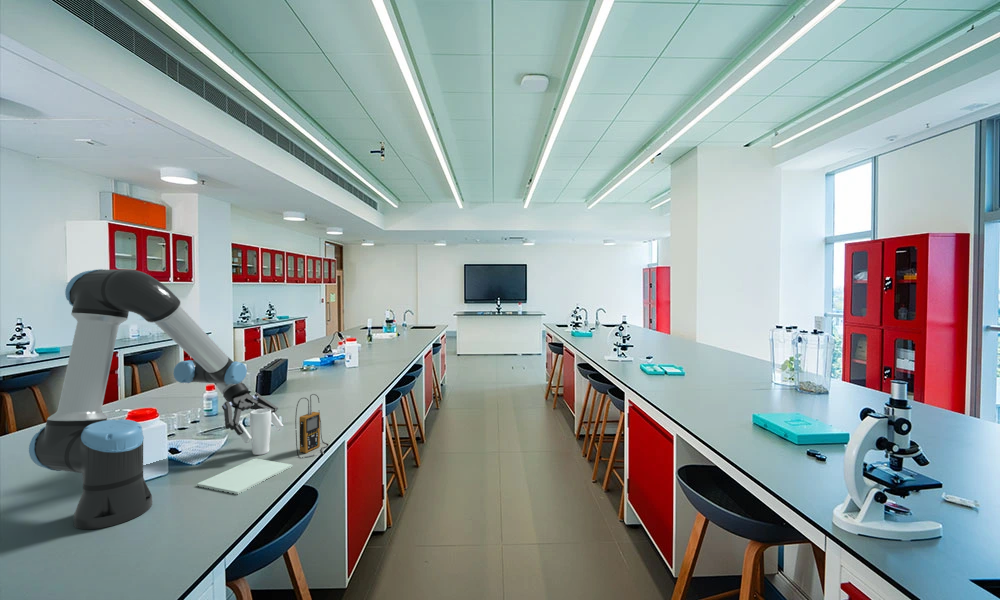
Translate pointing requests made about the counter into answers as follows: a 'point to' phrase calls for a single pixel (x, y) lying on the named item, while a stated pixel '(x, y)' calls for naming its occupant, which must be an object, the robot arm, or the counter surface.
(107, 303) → the robot arm
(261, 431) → the white cup
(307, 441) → the multimeter
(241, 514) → the counter surface
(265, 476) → the mat
